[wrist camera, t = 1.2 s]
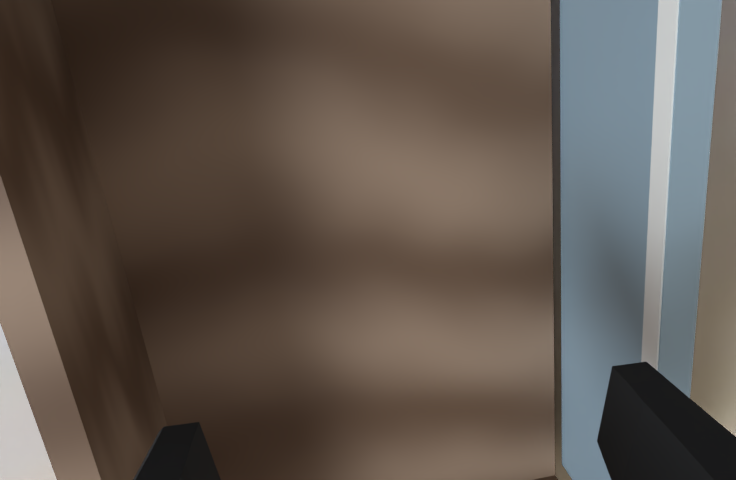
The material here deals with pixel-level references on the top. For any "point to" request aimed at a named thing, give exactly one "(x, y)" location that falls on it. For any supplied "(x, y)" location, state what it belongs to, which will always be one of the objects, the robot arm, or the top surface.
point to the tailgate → (630, 198)
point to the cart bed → (282, 234)
